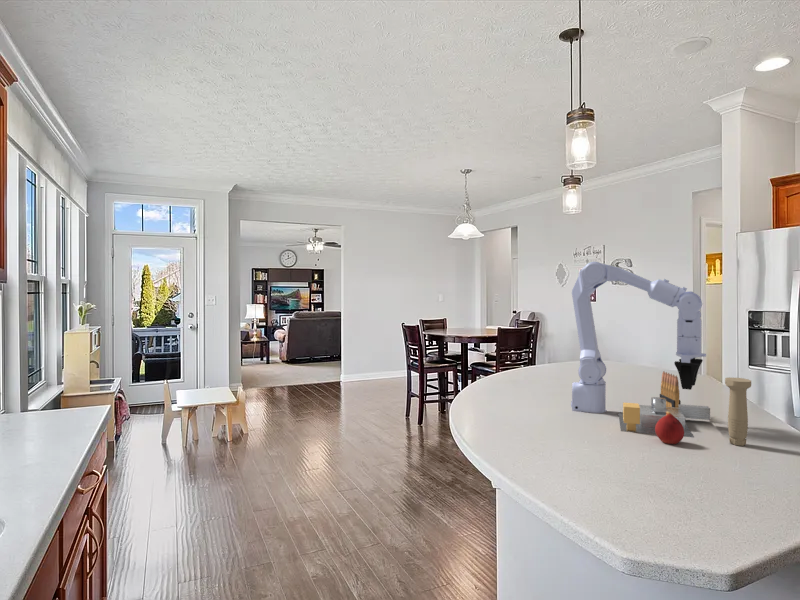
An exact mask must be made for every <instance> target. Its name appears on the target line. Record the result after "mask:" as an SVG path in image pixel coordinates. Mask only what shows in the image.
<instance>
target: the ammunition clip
mask: <svg viewBox="0 0 800 600" xmlns="http://www.w3.org/2000/svg"><path fill="white" fill-rule="evenodd" d="M679 385H680V384H679V378H678V375H675V374H672V373H670V372H667V371H666V372H665V370H664V371H662V374H661V383H660V393H659V397H661V398H665V399H666V407H677V408H678V407H679V404H682V402H681V399H680V389H679V387H680V386H679Z"/></svg>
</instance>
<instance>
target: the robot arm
mask: <svg viewBox="0 0 800 600" xmlns="http://www.w3.org/2000/svg"><path fill="white" fill-rule="evenodd" d="M607 282H611V283H612V282H622V283H624V284H627V285H630V286H632V287H635V288H638V289H640V290H642V291H645V292H646V293H647V295H648V297H649V299H652V300H654V301H656V302H658V303H661V304H663V305H666V306H668V307H671V308H674V307H676V308H677V309H678V312H677V314H678V317H677V320H676V321H677V322H676V326H677V327H676V335H677V336H676V352H675V355H676V357H679V359H678V361H677V360H676V361H674V366H675V368H676V370H677V372H678V375H679V380H680V386H681V388H682V390H688V391H690V390H692V389H693V386H695V385H696V381H697V378H698V374H699V373H698V372H699V369H700V366H701V365H702V363H703V361H704V360H703V359H702V357H703V358H705V357H707V353H702V319H701V317H702V313H701V308H702V305H703V302H702V301H703V300H702V299H701V297H700V296H699V295H698V293H695V292H694V291H687V289H688V288H687V287H685V286H682V287H681V286H678V285H675V284H672V283H670V280H668V279H665V278H664V279H663V280H662V279H660V278H658V279H655V280H653V281H651V280H649V279H647V278H645V277H642V276H640V275H637V274H636V273H633V272H631V271H628V270H626V269H624V268H621V267H617V266H613V265H610V264H606V263H602V262H599V261H591V262H588V263H586V264H585V265H584V266H583V267H582V268H581V269H580V270H579V273H578V276H577V279H576V280H575V283H574V285H573V287H572V289H571V296H572V302H573V303H572V304H573V310H574V316H575V317H574V318H575V323H576V329H577V335H578V342H579V349H580V354H579V368H578V370H577V371H578V376H579V382H578V381H575V382H572V383H571V384H572V385H571V386H572V387H571V403H570V408H571V411H572V412H581V413H582V412H584V413H589V414H590V413H592V414H593V413H594V414H601V413H603V414H604V413H605V412H608V409H606V403H607V400H606V398H607V397H606V396H607V395H606V391H607V389H606V388H607V386H606V384H607V383H606V381H605V379H604V376H605V375H606V373H607V366H606V364H605V363H604V361H603V360H602V355H601V352H600V350H599V345H598V341H597V334H596V327H595V321H594V319H595V318H594V316H593V315H594V314H593V308H592V302H591V296H592V294H593V293H594V292H595V291H596V290H597V288H599V287H600V286H602V285H604V284H605V283H607Z"/></svg>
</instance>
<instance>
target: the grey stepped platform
mask: <svg viewBox="0 0 800 600" xmlns="http://www.w3.org/2000/svg"><path fill="white" fill-rule="evenodd" d="M650 403H651V405H645V404H644V405H643V404H639V407H640V424H636V431H632V430H627V423H624V421H623V413H620V412H619V413H617V414H618V419H619V427H620V432H626V433H636V434H637V433H638V434H639V433H640V434H650V435H656V432H655V426H656V424H657V422H658V421H659V420H660V419H661V418H662V417H664V416H666V412H670V413H671V414H672V415H673V416H674V417H675V418H677V419H678V420H679V421H680V423H681V424H682V426H683V428H684V437H683V438H686V437H687V438H695V436H694V434H693V433H692V431H691V430H690V429H689V427H688V425H687V424H686V419H694V420H704V421H705V420H707V421H708V420H709V421H711V408H710V407H709V406H708V405H698V404H697V405H694V404H682V403H681V404H679V407H678V408H677V407H666V399H665V398H661V397H660V396H652V397H651V399H650Z"/></svg>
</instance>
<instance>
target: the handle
mask: <svg viewBox="0 0 800 600" xmlns="http://www.w3.org/2000/svg"><path fill="white" fill-rule="evenodd" d="M724 383H725V386H726V387H727V388H728V389H729V398H728V399H729V400H728V411H727V412H728V413H727V428H728V440H729V444H731V445H734V446H739V447H743V446H745V445H746V444H747V437H748V429H749V428H748V427H749V426H748V425H749V418H748V417H749V416H748V401H747V400H748V397H747V390H748V389H749V388H751V387H752V380H750V379H749V378H744V377H725V379H724Z"/></svg>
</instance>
